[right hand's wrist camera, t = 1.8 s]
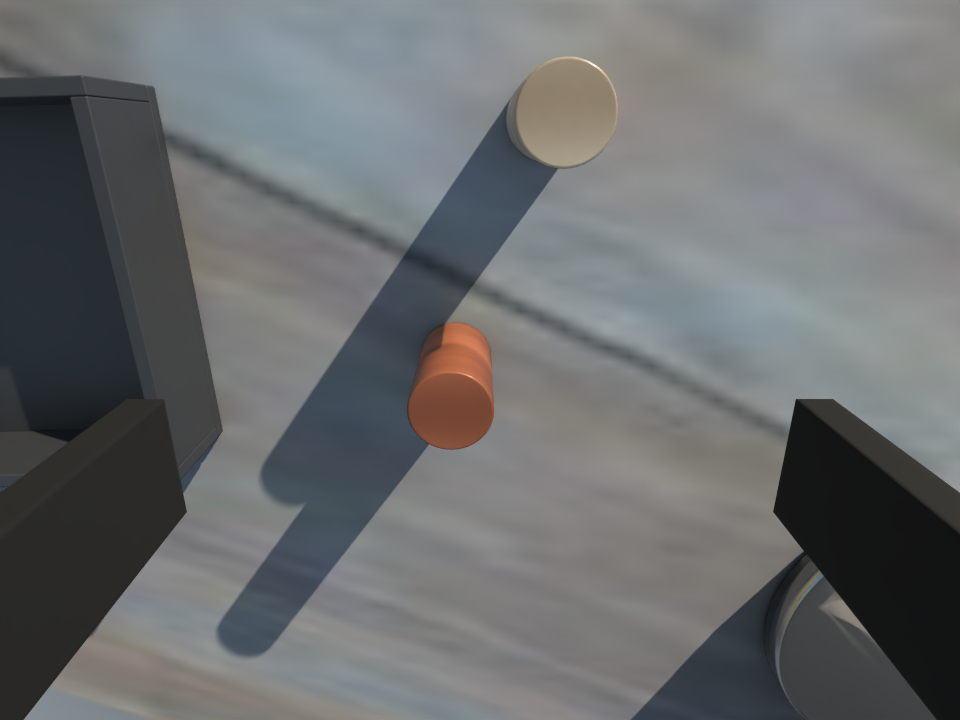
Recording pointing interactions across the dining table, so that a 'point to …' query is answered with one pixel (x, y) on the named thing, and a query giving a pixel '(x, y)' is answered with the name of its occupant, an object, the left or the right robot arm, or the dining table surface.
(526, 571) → the dining table surface
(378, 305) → the dining table surface
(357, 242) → the dining table surface
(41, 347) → the tray
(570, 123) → the cream peg
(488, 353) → the terracotta peg
